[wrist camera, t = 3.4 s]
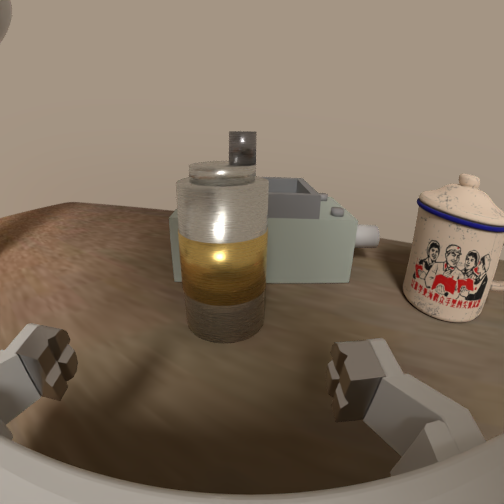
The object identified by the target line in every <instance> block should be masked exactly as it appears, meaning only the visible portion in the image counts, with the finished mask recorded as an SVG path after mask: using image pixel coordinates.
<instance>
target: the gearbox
mask: <svg viewBox="0 0 504 504" xmlns="http://www.w3.org/2000/svg"><path fill="white" fill-rule="evenodd" d="M262 178H265V179H267V180H268V181H269V190H268V221H267V227H268V243H267V269H266V283H349V278H350V272H351V266H352V260H353V254H354V248H376V247H377V246H378V243H379V229H378V227H377V226H376V225H358V220H357V219H356V218H355V217H353V216H352V215H351V214H350V213H349V212H348V211H347V210H346V209H344V208H343V207H342V206H341V205H340V204H339V203H338V202H336V201H335V200H334V199H333V198H332V197H328V195H327V194H324V193H318V192H317V191H315V190H314V189H313V188H312V187H311V186H310V185H309V184H308V183H307V182H306V181H305V180H304V179H302V178H281V177H262ZM169 227H170V240H171V251H172V262H173V272H174V281H175V282H182V275H181V264H180V252H179V239H178V212H177V209H176V210H175V211H174V212H173V213H172V215H171V216H170V217H169Z"/></svg>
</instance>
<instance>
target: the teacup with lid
mask: <svg viewBox="0 0 504 504" xmlns="http://www.w3.org/2000/svg"><path fill="white" fill-rule="evenodd" d="M459 183H460V184H448V185H446V186H444V187H442V188H439V189H437V190H431V191H424V192H422V193H421V194H420V196H419V198H418V200H417V204H418V205H419V209H418V216H417V221H416V227H415V233H414V238H413V243H412V248H411V253H410V257H409V262H408V266H407V270H406V274H405V279H404V283H403V292H404V294H405V296H406V298H407V299H408V300H409V302H410V303H411V304H412V305H413V306H415V307H416V308H417V309H419V310H420V311H422V312H423V313H425V314H427V315H429V316H431V317H434V318H437V319H440V320H443V321H448V322H468V321H471V320H473V319H475V318H476V317H478V316H479V314H480V313H481V311H482V308H483V306H484V303H485V301H486V298H487V295H488V292H489V290H493V291H504V281H493V277H494V274H495V271H496V268H497V265H498V261H499V258H500V254H501V250H502V247H503V245H504V212H503V211H501V210H500V209H499V208H498V207H497V206H496V205H495V204H494V203H493V201H492V200H491V199H490V197H489V196H488V195H487V194H486V193H484V192H483V191H481V190H479V189H478V188H479V186H480V180H479V178H478V177H476V176H472V175H469V174H464V173H462V174H461V175H460V176H459Z"/></svg>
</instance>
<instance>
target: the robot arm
mask: <svg viewBox="0 0 504 504" xmlns="http://www.w3.org/2000/svg"><path fill="white" fill-rule="evenodd" d="M11 17H12V5H11V2H10V0H0V43H1V41H2V40H3V38H4V36H5V35H6V33H7V30H8V28H9V25H10V22H11ZM69 343H70V338H69V335H68V333H67V331H65V330H63V329H59V328H53V327H48V326H44V325H38V324H33V323H30V324H27V325H26V326H25V327H24V328H23V330H22V331H21V332H20V333H19V334H18V335H17V337H16V338H15V339H14V340H13V341H12V342H11V344H10V345H9V346H8V347H7V348H6V350H5V351H4V350H1V351H0V504H504V433H502V434H500V435H498V436H496V437H494V438H492V439H490V440H488V441H485V439H484V437H483V435H482V433H481V431H480V430H479V428H478V426H477V424H476V422H475V421H474V419H473V417H472V415H471V414H470V412H469V410H468V409H466V408H465V407H463V406H461V405H460V404H458V403H456V402H455V401H453V400H451V399H449V398H448V397H446V396H444V395H443V394H441V393H439V392H438V391H436V390H434V389H433V388H431V387H429V386H428V385H426V384H424V383H423V382H421V381H419V380H418V379H416V378H415V377H413V376H411V375H410V374H403V372H402V370H401V368H400V366H399V364H398V363H397V361H396V359H395V357H394V355H393V354H392V352H391V350H390V348H389V346H388V345H387V343H386V341H385V340H384V339H383V338H376V339H367V340H360V341H347V342H334V344H333V345H332V348H331V352H330V353H331V356H332V361H331V362H329V363H328V365H327V370H326V387H327V391H328V394H329V395H330V396H332V397H333V401H332V404H331V407H332V411H333V414H334V418H335V422H346V421H355V420H363V419H364V420H363V421H364V422H365V423H366V424H367V425H368V426H369V427H370V428H371V429H372V430H373V431H374V432H376V433H377V434H378V435H379V436H380V437H381V438H382V439H383V440H384V441H385V442H386V443H387V444H388V445H390V446H391V447H392V448H393V449H394V450H395V451H396V452H397V453H398V454H399V455H400V456H402V457H401V459H400V460H399V461H398V462H397V464H396V465H395V466H394V467H393V468H392V470H391V471H390V474H391V477H387V478H383V479H379V480H375V481H371V482H366V483H361V484H356V485H351V486H345V487H339V488H332V489H325V490H317V491H308V492H298V493H284V494H255V495H246V494H216V493H202V492H192V491H183V490H175V489H168V488H161V487H155V486H149V485H144V484H139V483H134V482H130V481H125V480H121V479H117V478H113V477H109V476H105V475H101V474H98V473H94V472H91V471H88V470H85V469H81V468H78V467H75V466H72V465H69V464H67V463H64V462H61V461H58V460H56V459H53V458H50V457H48V456H45V455H43V454H41V453H38V452H36V451H34V450H31V449H29V448H27V447H25V446H22V445H20V444H18V443H16V442H14V441H12V438H13V435H12V433H11V431H10V430H9V429H8V428H7V427H6V424H8V423H9V422H10V421H11V420H13V419H14V418H15V417H16V416H18V415H19V414H20V413H22V412H23V411H24V410H25V409H27V408H28V407H29V406H31V405H32V404H33V403H34V402H36V401H37V400H38V399H40V398H41V396H43V397H46V398H50V399H54V400H57V401H61V399H62V397H63V395H64V394H65V392H66V390H67V388H68V384H67V381H69V380H70V379H72V378H73V377H74V375H75V373H76V371H77V365H78V361H77V356H76V353H75V351H74V349H73V348H72V347H71V346H70V345H69Z"/></svg>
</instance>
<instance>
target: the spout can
mask: <svg viewBox="0 0 504 504" xmlns="http://www.w3.org/2000/svg"><path fill="white" fill-rule="evenodd" d="M268 190H269V181H268V180H267V179H265V178H262V177H257V176H256V132H229V161H213V162H201V163H194V164H191V165H189V177H188V178H184V179H181V180H179V181H177V182H176V192H177V212H178V239H179V252H180V264H181V275H182V285H183V290H184V297H185V306H186V315H187V323H188V327H189V329H190V330H191V331H192V332H193V333H194V334H195V335H196V336H198V337H200V338H201V339H204V340H207V341H210V342H215V343H234V342H239V341H242V340H245V339H248V338H250V337H252V336H253V335H255V334H256V333H257V332H258V331H259V330H260V329H261V327H262V325H263V321H264V299H265V287H266V269H267V243H268V227H267V221H268Z"/></svg>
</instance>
